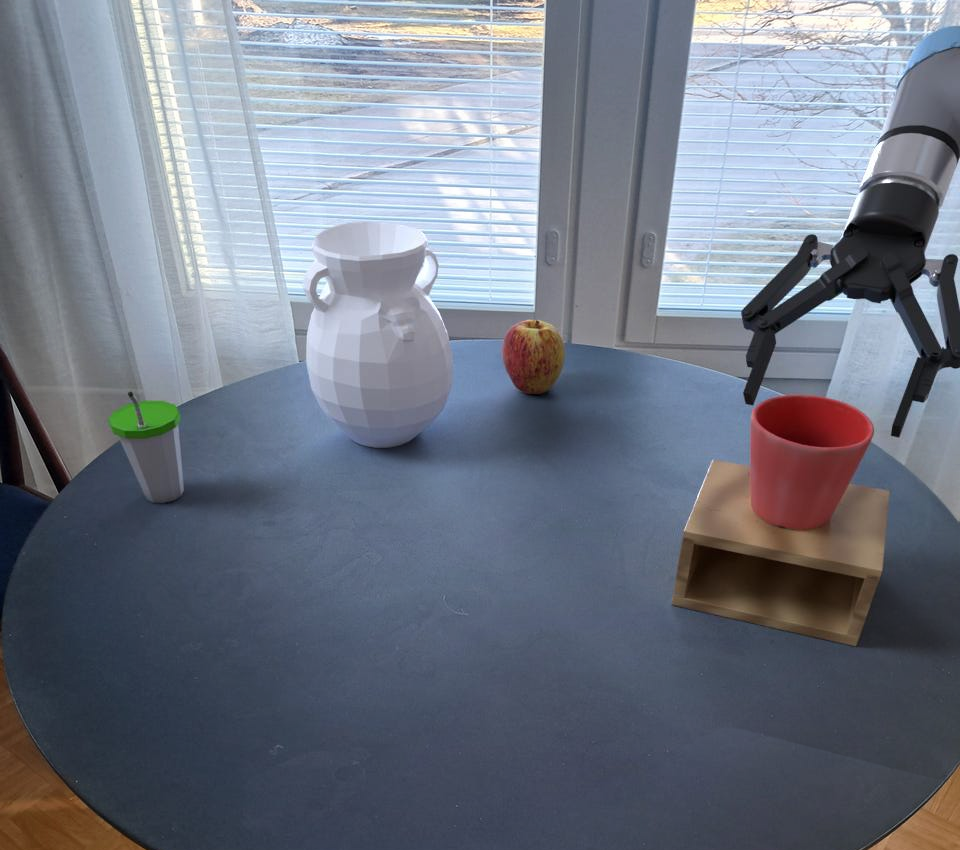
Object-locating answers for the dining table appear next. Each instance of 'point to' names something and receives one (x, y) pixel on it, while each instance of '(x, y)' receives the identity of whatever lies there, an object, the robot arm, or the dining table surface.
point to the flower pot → (804, 458)
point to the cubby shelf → (781, 560)
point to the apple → (533, 356)
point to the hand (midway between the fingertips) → (819, 415)
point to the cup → (152, 446)
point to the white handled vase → (376, 333)
